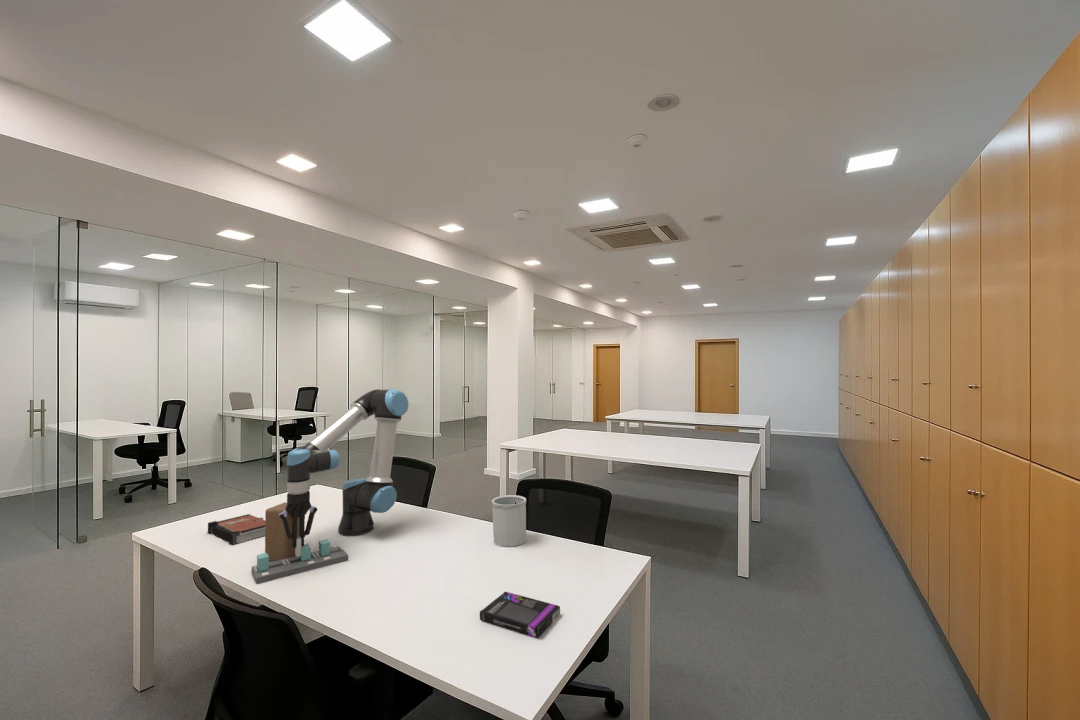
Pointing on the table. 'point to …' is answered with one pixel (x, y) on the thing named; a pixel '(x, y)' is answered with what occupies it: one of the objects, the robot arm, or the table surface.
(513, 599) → the box
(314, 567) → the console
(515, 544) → the utensil holder
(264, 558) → the slider
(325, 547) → the slider
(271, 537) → the wooden block
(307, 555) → the slider
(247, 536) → the book
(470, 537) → the table surface
